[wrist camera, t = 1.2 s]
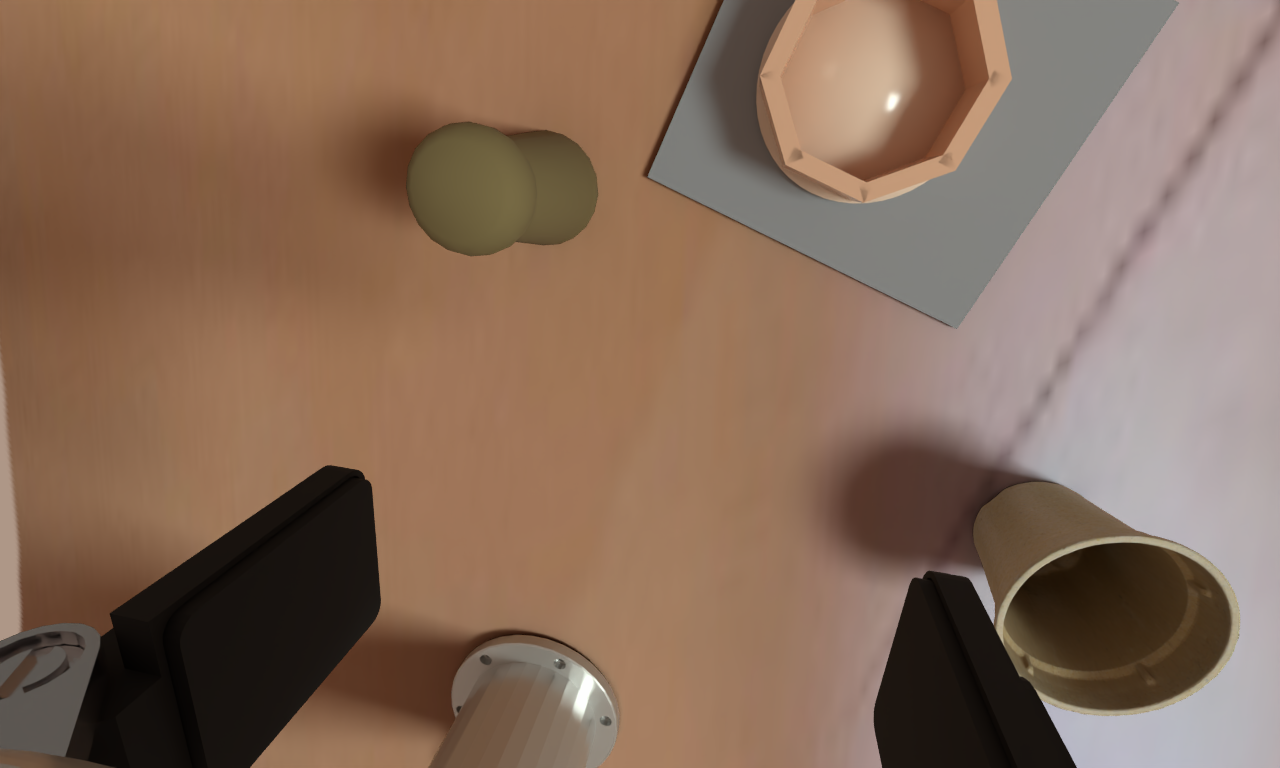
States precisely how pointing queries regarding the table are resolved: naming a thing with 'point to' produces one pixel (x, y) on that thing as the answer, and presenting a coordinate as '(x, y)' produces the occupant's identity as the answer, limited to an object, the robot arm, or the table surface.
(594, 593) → the table surface
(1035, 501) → the flower pot
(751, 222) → the felt mat
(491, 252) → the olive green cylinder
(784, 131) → the peach octagonal bowl
